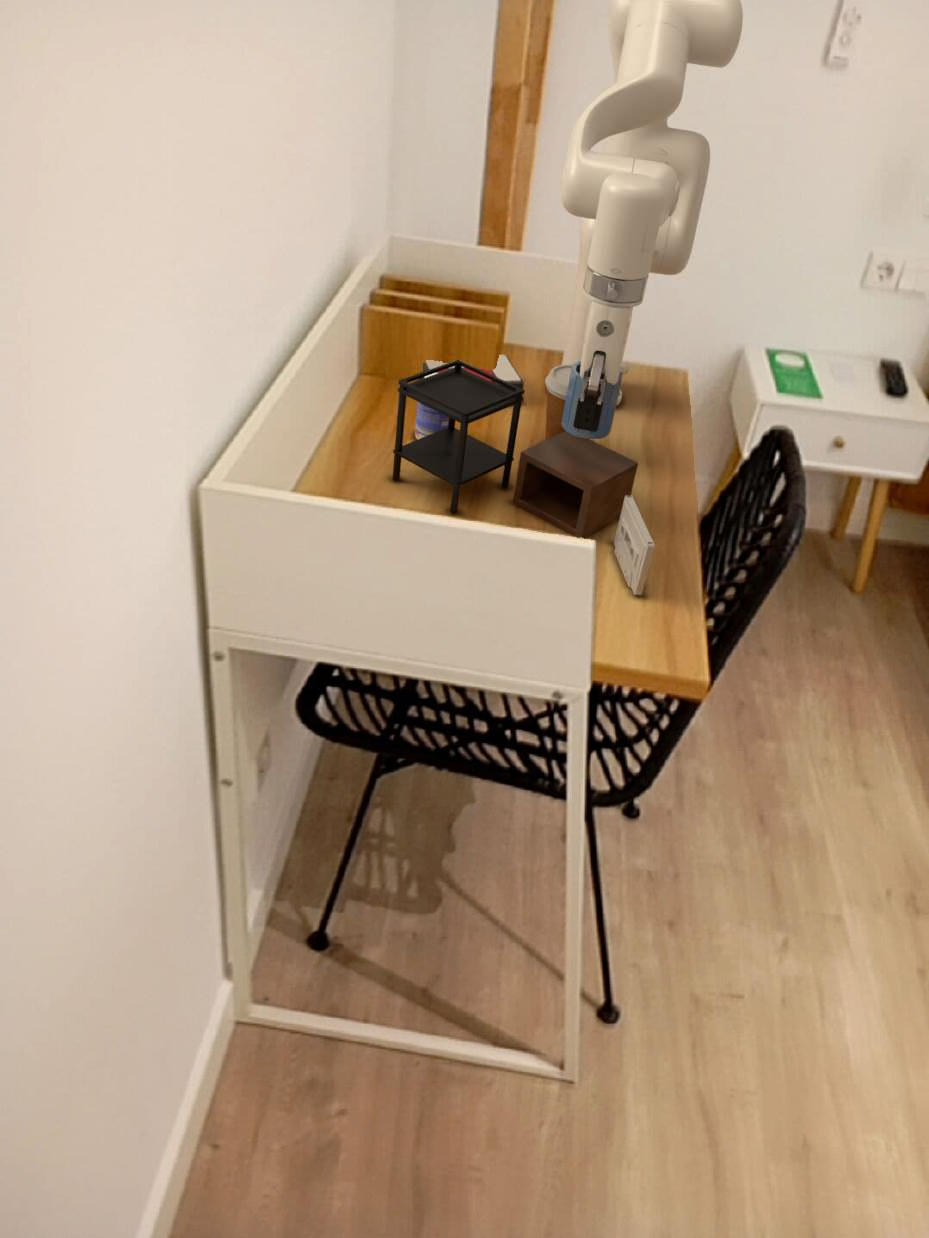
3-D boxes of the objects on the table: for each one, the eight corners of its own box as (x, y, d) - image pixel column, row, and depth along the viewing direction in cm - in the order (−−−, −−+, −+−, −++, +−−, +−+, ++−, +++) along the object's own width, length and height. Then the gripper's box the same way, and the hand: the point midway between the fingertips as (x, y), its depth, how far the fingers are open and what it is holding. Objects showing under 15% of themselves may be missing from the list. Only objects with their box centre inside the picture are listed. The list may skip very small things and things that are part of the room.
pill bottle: (445, 449, 152) (452, 389, 146) (410, 442, 153) (416, 382, 147) (453, 433, 156) (460, 374, 150) (419, 426, 157) (424, 367, 151)
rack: (447, 454, 151) (458, 359, 142) (509, 487, 145) (524, 390, 136) (390, 479, 143) (398, 380, 134) (453, 515, 137) (466, 414, 128)
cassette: (609, 543, 136) (621, 494, 131) (623, 543, 136) (635, 494, 132) (630, 596, 127) (644, 545, 122) (645, 596, 127) (659, 545, 122)
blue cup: (580, 411, 139) (591, 356, 134) (620, 429, 136) (632, 374, 131) (551, 425, 135) (561, 369, 130) (591, 444, 132) (603, 388, 127)
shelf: (559, 478, 149) (568, 429, 144) (626, 512, 143) (638, 462, 138) (512, 502, 142) (520, 451, 137) (581, 539, 136) (592, 487, 131)
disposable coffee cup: (554, 429, 161) (567, 357, 154) (606, 450, 158) (622, 378, 150) (522, 448, 155) (534, 375, 148) (575, 471, 151) (590, 396, 144)
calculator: (421, 354, 170) (507, 351, 173) (420, 378, 172) (505, 374, 176) (435, 383, 161) (525, 378, 165) (433, 407, 164) (522, 403, 167)
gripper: (641, 315, 116) (610, 452, 127) (649, 266, 130) (621, 394, 141) (576, 303, 117) (551, 441, 128) (591, 256, 130) (568, 384, 142)
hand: (588, 415), depth 134 cm, fingers closed on blue cup, 6 cm apart
